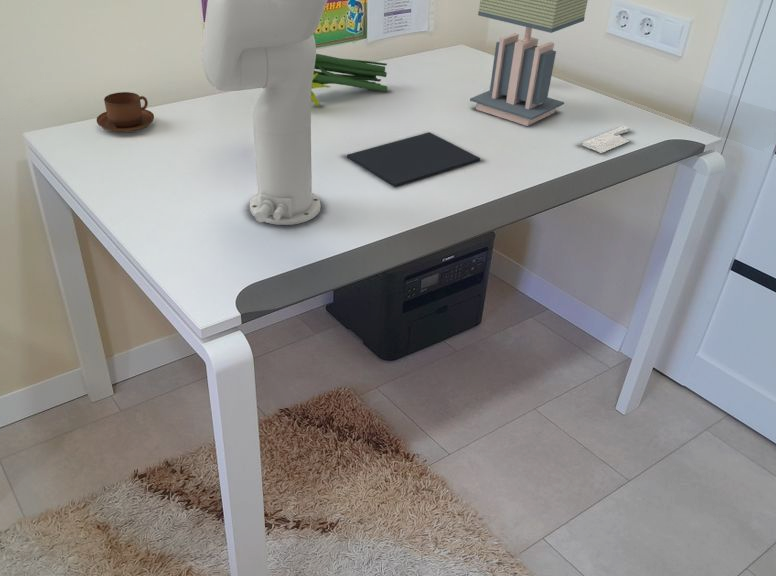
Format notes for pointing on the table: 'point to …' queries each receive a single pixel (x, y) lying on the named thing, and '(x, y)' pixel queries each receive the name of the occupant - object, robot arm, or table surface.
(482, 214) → the table surface
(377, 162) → the desk pad
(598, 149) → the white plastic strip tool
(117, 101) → the cup and saucer
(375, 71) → the daffodil flowers
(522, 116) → the desk lamp
